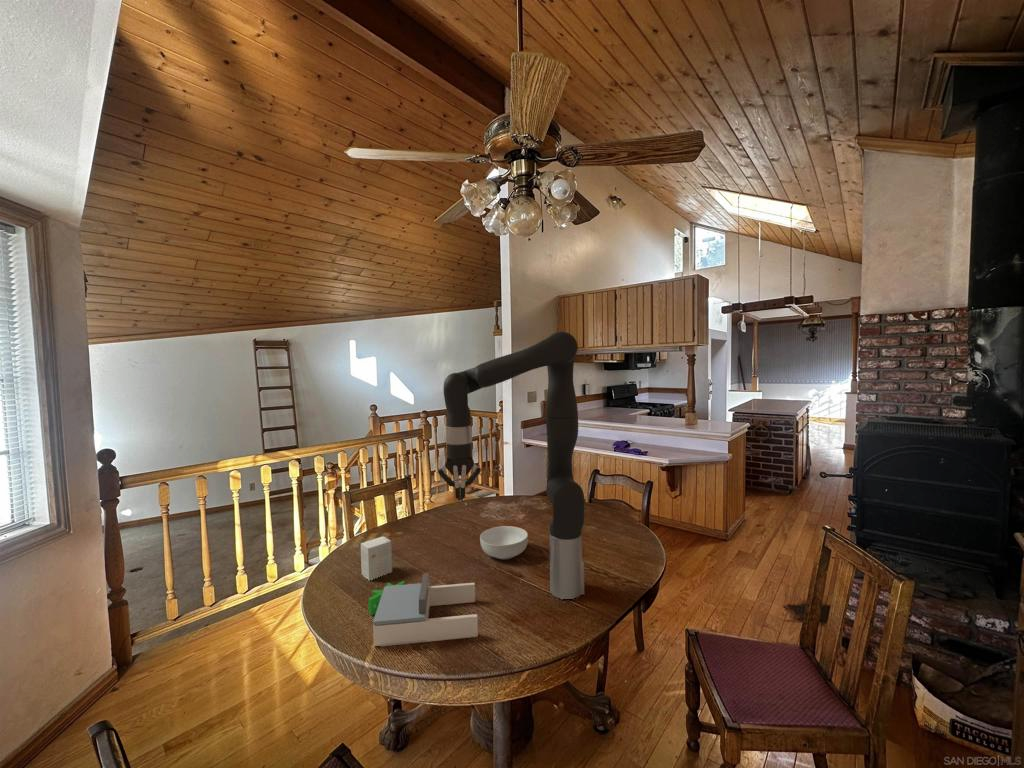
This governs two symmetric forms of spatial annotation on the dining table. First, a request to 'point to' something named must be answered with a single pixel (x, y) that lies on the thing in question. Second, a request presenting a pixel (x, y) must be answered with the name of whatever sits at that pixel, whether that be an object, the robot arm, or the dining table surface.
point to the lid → (403, 603)
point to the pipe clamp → (377, 599)
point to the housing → (433, 620)
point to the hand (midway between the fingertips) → (460, 499)
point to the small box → (376, 558)
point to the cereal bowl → (504, 541)
